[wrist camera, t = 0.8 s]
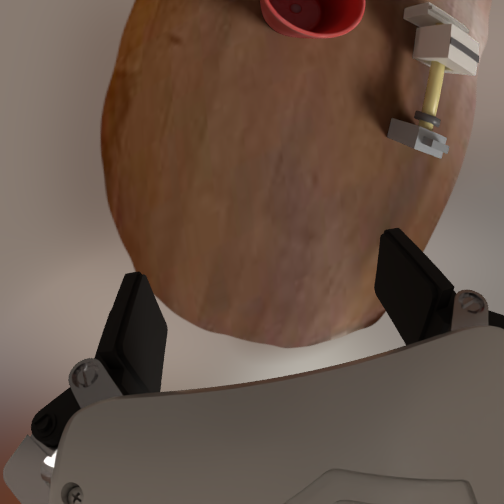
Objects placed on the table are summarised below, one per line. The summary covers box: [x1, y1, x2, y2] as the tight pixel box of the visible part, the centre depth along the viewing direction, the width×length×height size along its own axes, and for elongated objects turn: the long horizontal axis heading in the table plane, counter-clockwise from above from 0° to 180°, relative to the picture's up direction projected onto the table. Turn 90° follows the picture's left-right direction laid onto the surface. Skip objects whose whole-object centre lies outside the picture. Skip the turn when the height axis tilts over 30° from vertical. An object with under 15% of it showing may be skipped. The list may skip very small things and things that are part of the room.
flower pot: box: [260, 0, 365, 38], centre depth 23 cm, size 11×11×10 cm
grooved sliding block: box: [412, 24, 479, 76], centre depth 24 cm, size 5×5×8 cm
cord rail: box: [387, 2, 469, 159], centre depth 28 cm, size 21×7×9 cm, turn 171°
